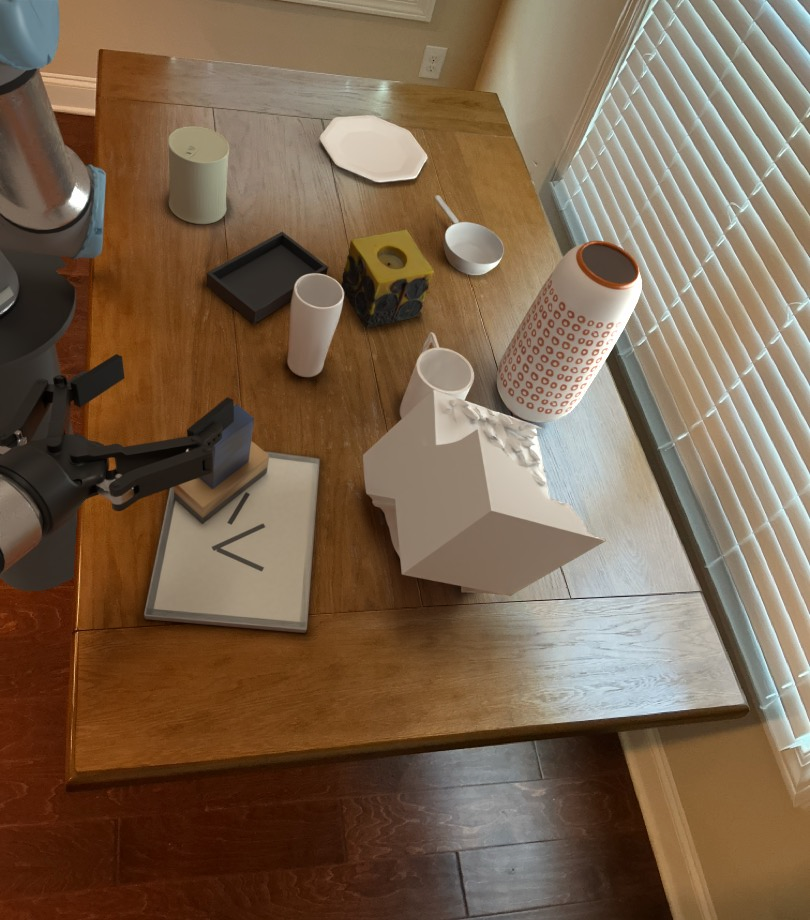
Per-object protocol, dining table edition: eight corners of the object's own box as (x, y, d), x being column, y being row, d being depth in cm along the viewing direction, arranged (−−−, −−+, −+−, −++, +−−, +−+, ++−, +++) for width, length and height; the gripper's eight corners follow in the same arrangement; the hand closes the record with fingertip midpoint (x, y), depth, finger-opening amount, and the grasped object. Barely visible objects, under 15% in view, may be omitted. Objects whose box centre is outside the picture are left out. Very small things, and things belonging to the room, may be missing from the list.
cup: (439, 372, 116) (457, 327, 108) (459, 435, 110) (481, 392, 102) (388, 373, 113) (404, 327, 105) (406, 438, 107) (424, 394, 99)
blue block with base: (202, 524, 91) (204, 465, 81) (173, 498, 92) (172, 437, 82) (266, 473, 97) (276, 412, 87) (239, 449, 99) (246, 386, 88)
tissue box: (349, 460, 100) (463, 348, 83) (446, 487, 108) (567, 390, 91) (357, 604, 89) (490, 510, 72) (464, 622, 97) (606, 541, 80)
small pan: (461, 285, 129) (468, 268, 126) (406, 217, 136) (412, 200, 133) (508, 272, 134) (516, 255, 131) (454, 207, 141) (460, 190, 138)
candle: (392, 275, 126) (406, 227, 118) (421, 317, 122) (437, 271, 114) (338, 285, 122) (349, 236, 114) (365, 330, 117) (378, 282, 109)
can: (158, 210, 121) (155, 144, 112) (185, 180, 127) (185, 115, 117) (210, 232, 122) (213, 167, 112) (235, 201, 127) (240, 138, 117)
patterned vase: (475, 371, 118) (543, 228, 96) (547, 363, 123) (628, 225, 100) (507, 440, 112) (589, 303, 89) (582, 428, 117) (677, 296, 94)
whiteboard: (143, 619, 84) (143, 615, 83) (180, 444, 98) (180, 439, 97) (305, 633, 88) (306, 629, 87) (318, 462, 102) (319, 458, 101)
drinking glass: (289, 386, 108) (302, 311, 96) (276, 350, 111) (287, 274, 99) (333, 379, 110) (352, 306, 98) (319, 345, 113) (335, 270, 101)
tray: (253, 324, 113) (255, 311, 111) (206, 285, 115) (206, 272, 113) (326, 278, 122) (328, 266, 120) (280, 243, 124) (282, 231, 122)
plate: (343, 110, 150) (344, 103, 149) (434, 148, 150) (436, 141, 149) (305, 159, 138) (306, 152, 137) (404, 200, 138) (406, 193, 137)
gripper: (-91, 486, 67) (81, 378, 83) (139, 596, 61) (278, 457, 77) (-116, 418, 62) (72, 318, 78) (131, 530, 56) (280, 397, 72)
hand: (174, 387), depth 77 cm, fingers open, 13 cm apart
